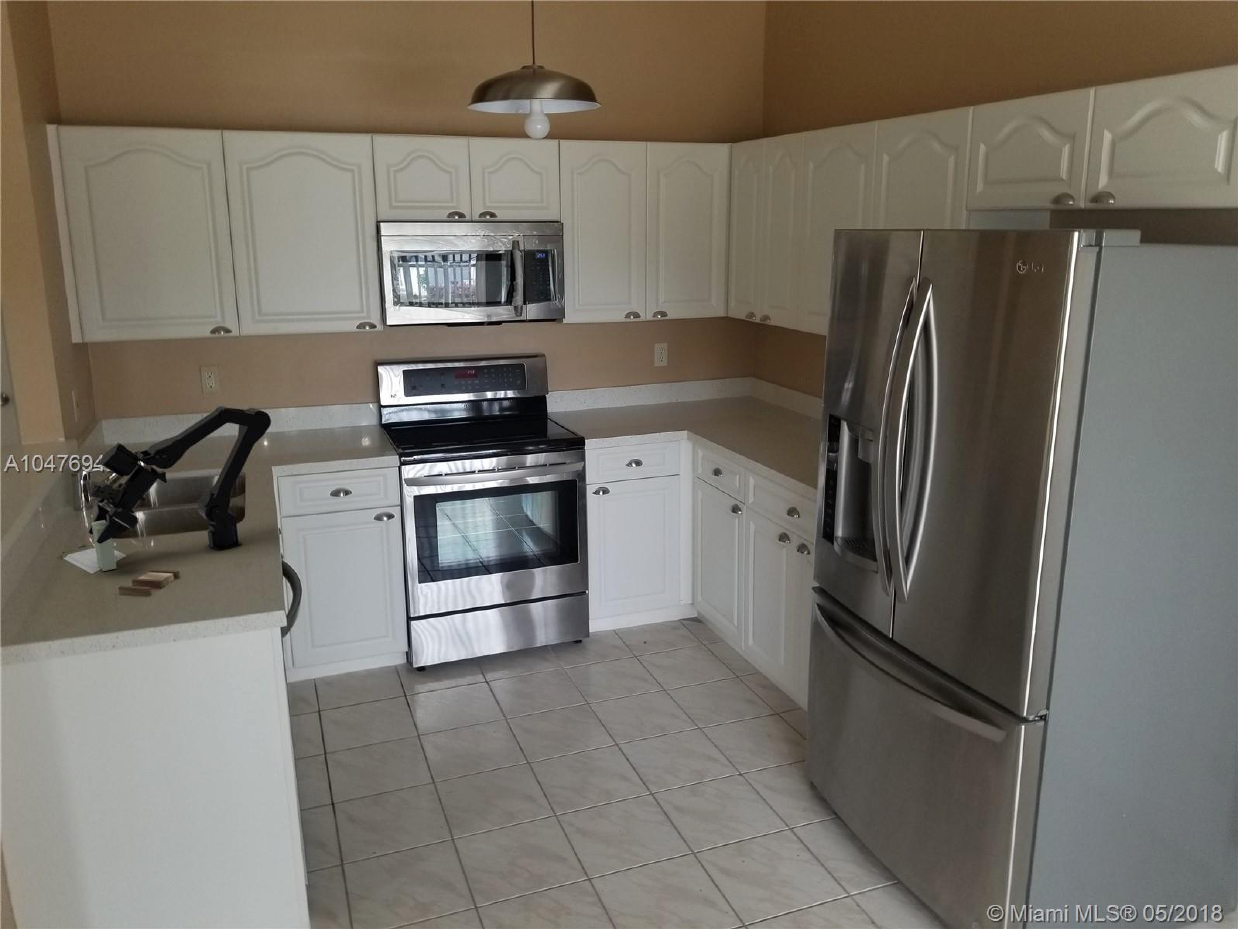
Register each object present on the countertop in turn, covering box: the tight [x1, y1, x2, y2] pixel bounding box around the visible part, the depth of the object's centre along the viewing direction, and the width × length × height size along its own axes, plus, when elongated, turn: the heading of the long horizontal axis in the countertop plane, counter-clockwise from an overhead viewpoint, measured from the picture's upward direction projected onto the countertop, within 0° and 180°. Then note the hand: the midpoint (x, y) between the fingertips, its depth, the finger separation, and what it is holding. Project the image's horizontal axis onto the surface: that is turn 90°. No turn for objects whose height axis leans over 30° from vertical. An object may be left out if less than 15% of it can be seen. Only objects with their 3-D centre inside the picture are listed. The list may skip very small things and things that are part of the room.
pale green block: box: [91, 520, 118, 572], centre depth 230 cm, size 3×6×11 cm, turn 39°
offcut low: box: [164, 577, 174, 585], centre depth 222 cm, size 4×6×1 cm, turn 80°
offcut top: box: [137, 572, 174, 582], centre depth 222 cm, size 4×6×1 cm, turn 80°
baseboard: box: [57, 544, 127, 574], centre depth 235 cm, size 31×3×12 cm
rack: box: [117, 568, 181, 597], centre depth 220 cm, size 12×8×3 cm, turn 170°
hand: (94, 538), depth 228 cm, fingers open, 9 cm apart
